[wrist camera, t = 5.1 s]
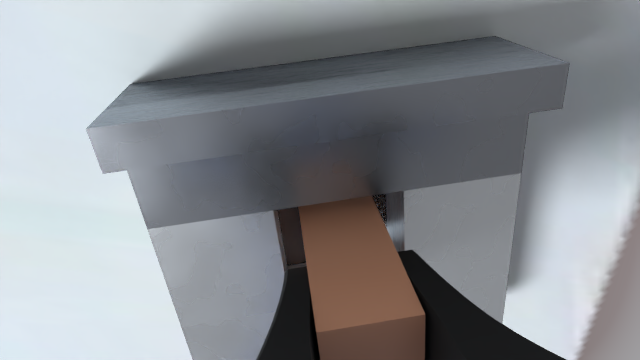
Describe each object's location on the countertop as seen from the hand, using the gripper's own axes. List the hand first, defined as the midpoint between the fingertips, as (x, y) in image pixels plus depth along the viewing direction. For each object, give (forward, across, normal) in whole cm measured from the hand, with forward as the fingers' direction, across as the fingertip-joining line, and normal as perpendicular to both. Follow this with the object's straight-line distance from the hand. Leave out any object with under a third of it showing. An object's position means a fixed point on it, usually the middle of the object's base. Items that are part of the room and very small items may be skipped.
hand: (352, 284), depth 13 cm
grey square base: (+4, 0, 0) cm, 4 cm away
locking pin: (+3, 0, 0) cm, 3 cm away
